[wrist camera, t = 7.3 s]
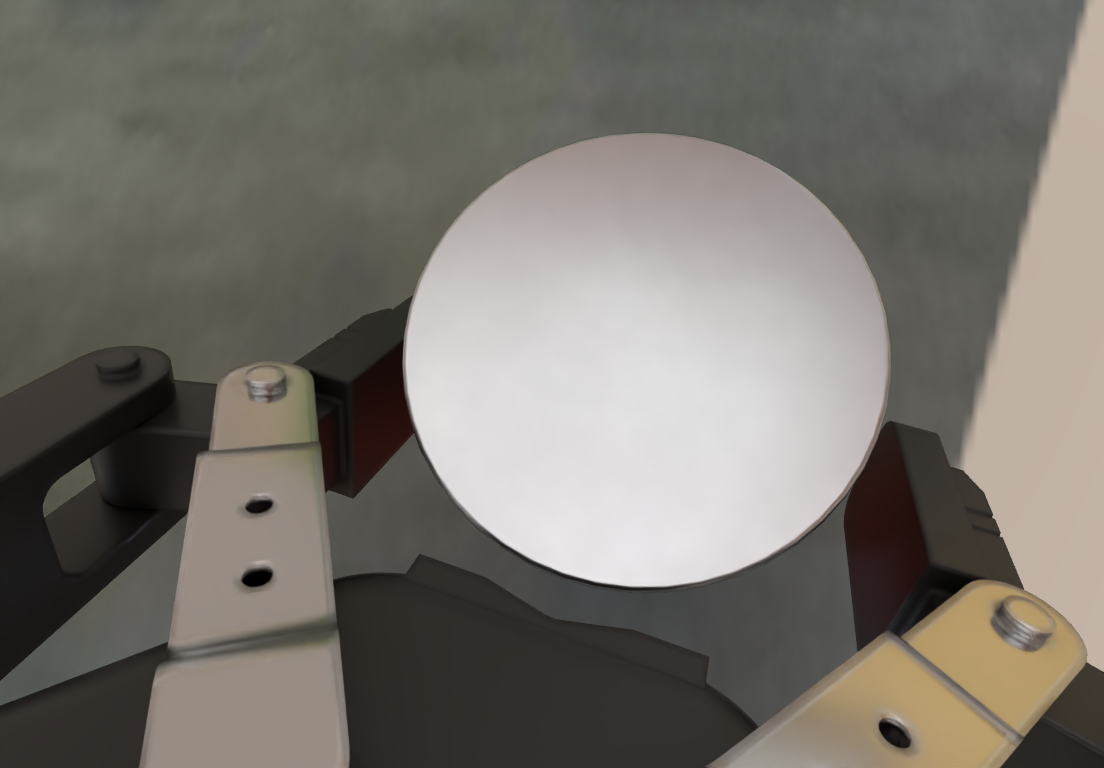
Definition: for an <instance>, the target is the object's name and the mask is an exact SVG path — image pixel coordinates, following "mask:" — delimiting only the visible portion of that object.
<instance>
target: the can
mask: <svg viewBox="0 0 1104 768" xmlns="http://www.w3.org/2000/svg"><path fill="white" fill-rule="evenodd" d="M402 368H403V381H404V394H405V399H406V403H407V408H408V413H409V417H410V422H411V425H412V428H413V431H414V433H415V436H416V439H417V442H418V444H419V447H420V450H421V452H422V454H423V456H424V458H425V460H426V462H427V464H428V465H429V467H430V469H431V471H432V473H433V475H434V477H435V479H436V480H437V482H438V483H439V484H440V486H441V487H442V488H443V490H444V491H445V493H446V494H447V495H448V497H449V498H450V500H451V501H452V502H453V504H454V505H455V506H456V507H457V508H458V509H459V510H460V511H461V512H462V513H463V514H464V515H465V516H466V518H467V519H468V520H469V521H470V522H471V523H472V524H473V525H474V526H475V527H476V528H477V529H478V530H480V531H481V532H482V533H483V534H485V535H486V536H487V537H488V538H490V539H491V540H492V541H494V542H495V543H496V544H497V545H499V546H500V547H501V548H502V549H504V550H506V551H507V552H509V553H511V554H513V555H514V556H516V557H518V558H519V559H521V560H523V561H524V562H526V563H528V564H529V565H531V566H533V567H536V568H538V569H541V570H543V571H545V572H548V573H550V574H552V575H555V576H557V577H559V578H562V579H565V580H569V581H573V582H576V583H580V584H584V585H587V586H591V587H595V588H601V589H609V590H616V591H624V592H670V591H677V590H684V589H691V588H698V587H703V586H707V585H710V584H714V583H717V582H721V581H724V580H728V579H731V578H735V577H737V576H739V575H741V574H744V573H746V572H748V571H750V570H753V569H755V568H757V567H759V566H762V565H764V564H766V563H768V562H770V561H771V560H773V559H774V558H776V557H778V556H779V555H781V554H782V553H784V552H786V551H787V550H789V549H790V548H792V547H794V546H795V545H797V544H798V543H799V542H800V541H802V540H803V539H804V538H805V537H806V536H807V535H809V534H810V533H811V532H812V531H813V530H814V529H816V528H817V527H818V526H819V525H820V524H822V523H823V522H824V521H825V519H826V518H827V517H828V516H829V515H830V514H831V513H832V512H833V510H834V509H835V508H836V507H837V506H838V505H839V504H840V503H841V501H842V500H843V499H844V498H845V497H846V495H847V494H848V492H849V491H850V489H851V488H852V486H853V485H854V483H855V482H856V480H857V478H858V477H859V475H860V474H861V472H862V471H863V469H864V467H865V465H866V463H867V461H868V459H869V456H870V454H871V452H872V450H873V448H874V445H875V443H876V441H877V439H878V436H879V432H880V429H881V425H882V422H883V418H884V415H885V411H886V408H887V401H888V393H889V386H890V378H891V350H890V339H889V332H888V326H887V320H886V314H885V310H884V307H883V303H882V300H881V297H880V294H879V290H878V287H877V284H876V281H875V279H874V277H873V275H872V273H871V271H870V269H869V266H868V264H867V262H866V260H865V258H864V256H863V254H862V253H861V251H860V250H859V248H858V246H857V245H856V243H855V242H854V240H853V239H852V237H851V236H850V234H849V232H848V231H847V230H846V228H845V227H844V226H843V225H842V224H841V222H840V221H839V220H838V219H837V218H836V217H835V215H834V214H833V213H832V212H831V211H830V210H829V208H828V207H827V206H826V205H825V204H823V203H822V202H821V201H820V200H819V199H818V198H817V197H816V196H815V195H814V194H812V193H811V192H810V191H809V190H808V189H807V188H806V187H805V186H803V185H802V184H800V183H799V182H798V181H796V180H795V179H793V178H792V177H790V176H789V175H788V174H786V173H785V172H783V171H782V170H780V169H779V168H777V167H775V166H773V165H771V164H769V163H767V162H766V161H764V160H762V159H760V158H758V157H756V156H754V155H752V154H749V153H747V152H744V151H742V150H739V149H736V148H734V147H731V146H729V145H726V144H722V143H718V142H714V141H711V140H707V139H703V138H699V137H693V136H686V135H679V134H673V133H651V132H637V133H624V134H612V135H607V136H601V137H596V138H591V139H586V140H582V141H579V142H575V143H572V144H569V145H566V146H562V147H559V148H556V149H554V150H552V151H549V152H547V153H545V154H543V155H540V156H538V157H536V158H533V159H531V160H529V161H528V162H526V163H524V164H522V165H521V166H519V167H517V168H516V169H514V170H512V171H510V172H509V173H507V174H506V175H504V176H503V177H502V178H500V179H499V180H497V181H496V182H495V183H493V184H492V185H491V186H489V187H488V188H487V189H485V190H484V191H483V192H482V193H481V194H480V195H479V196H478V197H477V198H476V199H475V200H473V201H472V202H471V203H470V204H469V205H468V206H467V207H466V208H465V209H464V210H463V211H462V212H461V214H460V215H459V216H458V217H457V218H456V220H455V221H454V222H453V223H452V224H451V226H450V227H449V228H448V229H447V230H446V232H445V233H444V235H443V236H442V238H441V240H440V241H439V243H438V244H437V246H436V247H435V249H434V250H433V252H432V253H431V255H430V257H429V259H428V261H427V263H426V266H425V268H424V270H423V272H422V274H421V276H420V278H419V280H418V283H417V286H416V289H415V292H414V295H413V298H412V301H411V304H410V307H409V312H408V318H407V323H406V328H405V333H404V344H403V361H402Z"/></svg>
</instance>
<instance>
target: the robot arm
mask: <svg viewBox="0 0 1104 768" xmlns="http://www.w3.org/2000/svg"><path fill="white" fill-rule="evenodd" d="M412 298H413V295H412V296H411V297H410V298H408V299H407V300H405V301H404V302H403V303H401V304H400V305H398V306H397V307H396V308H394V309H393V310H392V309H388V308H387V309H384V310H381V311H377V312H374V313H371V314H367V315H364V316H363V317H361V318H360V319H358V320H357V321H355V322H354V323H352V324H351V325H349V326H348V328H347V329H343V330H342V331H340V332H339V333H338V334H336V335H335V336H334V339H333V338H330V339H329V340H327V341H326V342H324V343H323V344H321V345H320V346H318V347H317V348H316V349H314V350H313V351H311V352H310V353H308V354H307V355H305V356H304V357H302V358H301V359H299V360H298V361H296V362H295V363H293V364H291V363H286V362H279V361H263V362H255V363H250V364H246V365H242V366H240V367H237V368H235V369H233V370H231V371H229V372H227V373H226V374H225V375H224V376H223V377H221V379H220V380H219V382H218V384H211V383H201V382H190V381H180V380H174V377H173V371H172V366H171V361H170V358H169V357H168V356H167V355H166V354H165V353H163V352H161V351H159V350H156V349H153V348H148V347H141V346H120V347H112V348H106V349H102V350H98V351H94V352H91V353H88V354H86V355H84V356H82V357H79V358H77V359H76V360H74V361H72V362H70V363H68V364H66V365H64V366H62V367H60V368H58V369H56V370H54V371H52V372H50V373H48V374H46V375H44V376H42V377H40V378H39V379H37V380H35V381H33V382H31V383H29V384H27V385H25V386H23V387H21V388H19V389H17V390H15V391H13V392H11V393H9V394H7V395H5V396H3V397H1V398H0V680H2V679H3V678H4V677H5V676H6V675H7V674H8V673H9V672H10V671H12V670H13V669H14V668H15V667H16V666H17V665H18V664H19V663H21V662H22V661H23V660H24V659H25V658H26V657H27V656H28V655H29V654H31V653H32V652H33V651H34V650H35V649H36V648H37V647H38V646H40V645H41V644H42V643H43V642H44V641H45V640H46V639H47V638H49V637H50V636H51V635H52V634H53V633H54V632H55V631H56V630H57V629H59V628H60V627H61V626H62V625H63V624H64V623H65V622H66V621H68V620H69V619H70V618H71V617H72V616H73V615H74V614H75V613H76V612H78V611H79V610H80V609H81V608H82V607H83V606H84V605H85V604H87V603H88V602H89V601H90V600H91V599H92V598H93V597H94V596H95V595H97V594H98V593H99V592H100V591H101V590H102V589H103V588H104V587H106V586H107V585H108V584H109V583H110V582H111V581H112V580H113V579H114V578H116V577H117V576H118V575H119V574H120V573H121V572H122V571H123V570H125V569H126V568H127V567H128V566H129V565H130V564H131V563H132V562H134V561H135V560H136V559H137V558H138V557H139V556H140V555H141V554H142V553H144V552H145V551H146V550H147V549H148V548H149V547H150V546H151V545H153V544H154V543H155V542H156V541H157V540H158V539H159V538H160V537H161V536H163V535H164V534H165V533H166V532H167V531H168V530H169V529H170V528H172V527H173V526H174V525H175V524H176V523H177V522H178V521H179V520H180V519H182V518H183V517H184V516H185V515H186V514H187V513H188V517H187V524H186V531H185V537H184V544H183V550H182V557H181V564H180V570H179V577H178V584H177V590H176V597H175V603H174V610H173V617H172V623H171V630H170V637H169V642H166V643H164V644H161V645H159V646H156V647H153V648H151V649H148V650H145V651H143V652H140V653H138V654H135V655H132V656H130V657H127V658H125V659H122V660H119V661H117V662H114V663H111V664H109V665H106V666H104V667H101V668H98V669H96V670H93V671H90V672H88V673H85V674H83V675H80V676H77V677H75V678H72V679H69V680H67V681H64V682H62V683H59V684H56V685H54V686H51V687H49V688H46V689H43V690H41V691H38V692H35V693H33V694H30V695H28V696H25V697H22V698H20V699H17V700H14V701H12V702H9V703H7V704H4V705H1V706H0V768H1104V672H1103V671H1101V670H1099V669H1097V668H1095V667H1094V666H1092V665H1090V664H1089V663H1087V662H1086V661H1087V651H1086V647H1085V645H1084V642H1083V640H1082V639H1081V637H1080V635H1079V634H1078V632H1077V631H1076V630H1075V628H1074V627H1073V626H1072V625H1071V624H1070V623H1069V622H1068V621H1067V620H1066V619H1065V618H1064V617H1063V616H1062V615H1061V614H1060V613H1059V612H1058V611H1056V610H1055V609H1054V608H1053V607H1051V606H1050V605H1049V604H1047V603H1046V602H1044V601H1043V600H1041V599H1039V598H1038V597H1036V596H1035V595H1033V594H1031V593H1029V592H1027V591H1025V590H1024V588H1023V585H1022V583H1021V581H1020V578H1019V576H1018V574H1017V571H1016V569H1015V566H1014V564H1013V561H1012V559H1011V557H1010V554H1009V552H1008V549H1007V547H1006V545H1005V542H1004V540H1003V538H1002V537H1000V533H1001V532H1000V530H999V528H998V526H997V523H996V520H995V519H993V518H992V516H993V513H992V511H991V509H990V506H989V504H988V501H987V499H986V496H985V494H984V492H983V491H982V490H981V489H980V488H979V487H978V486H977V485H976V484H975V483H974V482H973V481H972V480H971V479H970V478H969V476H968V475H967V474H966V473H965V472H964V471H963V470H960V469H956V468H953V467H950V465H949V463H948V460H947V457H946V454H945V452H944V449H943V446H942V443H941V441H940V438H939V436H938V434H936V433H933V432H930V431H926V430H922V429H919V428H915V427H911V426H908V425H904V424H900V423H897V422H893V421H889V422H887V423H886V424H885V425H884V426H883V428H882V429H881V431H880V433H879V436H878V439H877V441H876V443H875V445H874V448H873V450H872V452H871V454H870V456H869V459H868V461H867V463H866V465H865V467H864V469H863V471H862V472H861V474H860V475H859V477H858V478H857V480H856V482H855V484H854V486H853V488H852V490H851V493H850V495H849V498H848V501H847V505H846V509H845V515H844V530H845V540H846V549H847V558H848V567H849V576H850V586H851V595H852V604H853V613H854V623H855V632H856V641H857V650H858V652H857V653H856V654H855V655H853V656H852V657H851V658H849V659H848V660H847V661H846V662H844V663H843V664H842V665H840V666H839V667H838V668H836V669H835V670H834V671H832V672H831V673H830V674H828V675H827V676H826V677H824V678H823V679H822V680H821V681H819V682H818V683H817V684H815V685H814V686H813V687H811V688H810V689H809V690H807V691H806V692H805V693H803V694H802V695H801V696H799V697H798V698H797V699H796V700H794V701H793V702H792V703H790V704H789V705H788V706H786V707H785V708H784V709H782V710H781V711H780V712H778V713H777V714H776V715H774V716H773V717H772V718H771V719H769V720H768V721H767V722H765V723H764V724H763V725H761V726H760V727H758V726H757V724H756V723H755V722H754V721H753V720H752V719H751V718H750V717H749V716H748V715H747V714H746V713H745V712H744V711H743V710H741V709H740V708H739V707H738V706H737V705H736V704H735V703H734V702H732V701H731V700H730V699H728V698H727V697H726V696H725V695H723V694H722V693H721V692H719V691H718V690H716V689H715V688H713V687H712V686H710V685H709V684H707V683H706V678H707V670H708V662H709V657H708V656H705V655H702V654H699V653H696V652H694V651H691V650H688V649H685V648H682V647H680V646H677V645H674V644H671V643H668V642H666V641H663V640H660V639H657V638H654V637H652V636H649V635H646V634H643V633H640V632H637V631H635V630H630V629H622V628H615V627H608V626H600V625H593V624H586V623H578V622H571V621H563V620H557V619H554V618H551V617H548V616H547V615H545V614H543V613H541V612H540V611H538V610H537V609H535V608H534V607H532V606H530V605H529V604H527V603H526V602H524V601H522V600H521V599H519V598H518V597H516V596H514V595H513V594H511V593H510V592H508V591H507V590H505V589H503V588H502V587H500V586H499V585H497V584H495V583H494V582H492V581H491V580H489V579H488V578H486V577H483V576H480V575H477V574H475V573H472V572H469V571H466V570H463V569H461V568H458V567H455V566H452V565H449V564H447V563H444V562H441V561H438V560H435V559H433V558H430V557H427V556H424V555H421V554H419V556H418V557H417V558H416V560H415V561H414V563H413V564H412V566H411V567H410V568H409V570H408V571H407V573H406V574H401V573H367V574H358V575H352V576H346V577H342V578H338V579H335V580H333V575H332V564H331V553H330V542H329V531H328V520H327V509H326V498H325V493H326V492H327V491H328V490H330V491H333V492H336V493H339V494H342V495H345V496H348V497H350V498H354V497H355V496H356V495H357V494H358V493H359V492H360V491H361V490H362V489H363V487H364V486H365V485H366V484H367V483H368V482H369V481H370V480H371V479H372V478H373V477H374V476H375V474H376V473H377V472H378V471H379V470H380V469H381V468H382V467H383V466H384V465H385V464H386V463H387V461H388V460H389V459H390V458H391V457H392V456H393V455H394V454H395V453H396V452H397V451H398V450H399V448H400V447H401V446H402V445H403V444H404V443H405V442H406V441H407V440H408V439H409V438H410V437H411V435H412V434H413V433H414V431H413V428H412V425H411V422H410V417H409V413H408V408H407V403H406V399H405V394H404V381H403V368H402V361H403V344H404V333H405V328H406V323H407V318H408V312H409V307H410V304H411V301H412ZM88 458H90V461H91V464H92V468H93V471H94V475H95V479H96V481H95V482H94V483H92V484H91V485H89V486H88V487H87V488H85V489H84V490H82V491H81V492H80V493H78V494H77V495H75V496H74V497H73V498H71V499H70V500H68V501H67V502H66V503H64V504H63V505H61V506H60V507H59V508H57V509H56V510H55V511H53V512H52V513H50V514H49V515H48V516H46V517H45V518H44V515H43V502H44V499H45V496H46V494H47V492H48V490H49V489H50V487H51V486H52V485H53V484H54V483H55V482H56V481H57V480H58V479H59V478H60V477H62V476H63V475H65V474H66V473H68V472H69V471H71V470H72V469H74V468H75V467H77V466H78V465H80V464H81V463H83V462H84V461H86V460H87V459H88Z"/></svg>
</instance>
